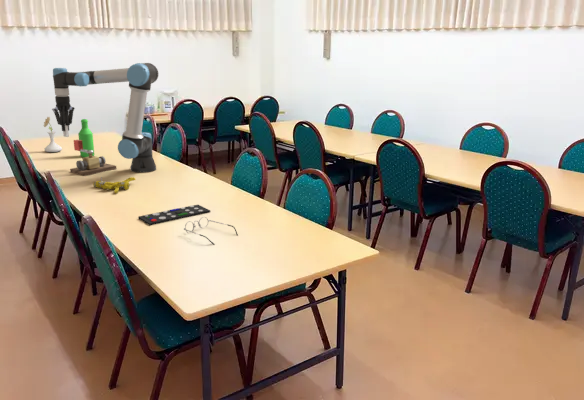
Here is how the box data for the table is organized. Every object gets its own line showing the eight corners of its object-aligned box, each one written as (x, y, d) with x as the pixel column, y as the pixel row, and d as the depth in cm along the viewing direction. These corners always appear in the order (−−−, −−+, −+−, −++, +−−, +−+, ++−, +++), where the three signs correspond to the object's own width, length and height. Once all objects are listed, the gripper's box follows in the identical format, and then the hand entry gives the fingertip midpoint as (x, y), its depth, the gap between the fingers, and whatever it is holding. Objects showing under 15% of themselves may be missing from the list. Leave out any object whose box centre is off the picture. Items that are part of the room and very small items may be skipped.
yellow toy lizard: (84, 192, 260) (120, 193, 257) (83, 179, 259) (119, 181, 255) (106, 185, 281) (140, 186, 278) (106, 173, 280) (139, 174, 277)
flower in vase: (45, 150, 355) (41, 114, 348) (63, 149, 358) (59, 114, 351) (43, 154, 343) (38, 117, 336) (61, 153, 347) (57, 117, 339)
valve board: (116, 169, 308) (115, 151, 305) (84, 175, 291) (83, 157, 287) (101, 165, 316) (100, 148, 312) (70, 172, 298) (68, 154, 295)
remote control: (138, 219, 223) (138, 215, 222) (198, 207, 242) (197, 203, 242) (149, 226, 215) (149, 222, 214) (210, 213, 234) (210, 209, 234)
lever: (94, 153, 298) (93, 142, 296) (89, 154, 295) (88, 143, 293) (79, 149, 306) (78, 139, 304) (74, 150, 303) (72, 140, 301)
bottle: (91, 157, 336) (87, 120, 328) (78, 157, 336) (74, 120, 329) (96, 155, 344) (93, 118, 337) (84, 154, 344) (80, 118, 337)
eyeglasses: (209, 225, 218) (209, 214, 217) (240, 235, 207) (240, 224, 206) (180, 235, 206) (180, 223, 205) (211, 246, 195) (211, 234, 194)
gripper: (68, 94, 295) (72, 134, 302) (47, 95, 285) (52, 137, 292) (76, 95, 291) (79, 135, 298) (55, 96, 281) (59, 138, 288)
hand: (66, 136), depth 295 cm, fingers closed
